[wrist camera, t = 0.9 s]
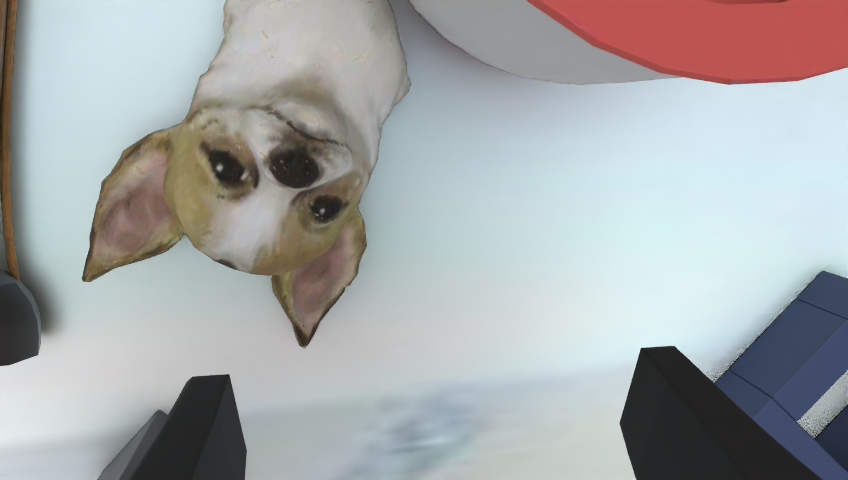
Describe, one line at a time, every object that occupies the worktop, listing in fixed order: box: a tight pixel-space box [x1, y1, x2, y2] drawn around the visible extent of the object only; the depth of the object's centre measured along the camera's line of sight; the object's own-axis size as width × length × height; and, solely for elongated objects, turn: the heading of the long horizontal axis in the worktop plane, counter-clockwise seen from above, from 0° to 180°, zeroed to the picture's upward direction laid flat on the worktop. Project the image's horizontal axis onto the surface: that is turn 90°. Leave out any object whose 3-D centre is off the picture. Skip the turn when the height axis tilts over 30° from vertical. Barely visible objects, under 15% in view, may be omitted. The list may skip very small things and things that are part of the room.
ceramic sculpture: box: [82, 0, 411, 349], centre depth 25 cm, size 11×9×15 cm
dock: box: [715, 271, 848, 480], centre depth 33 cm, size 9×9×4 cm
